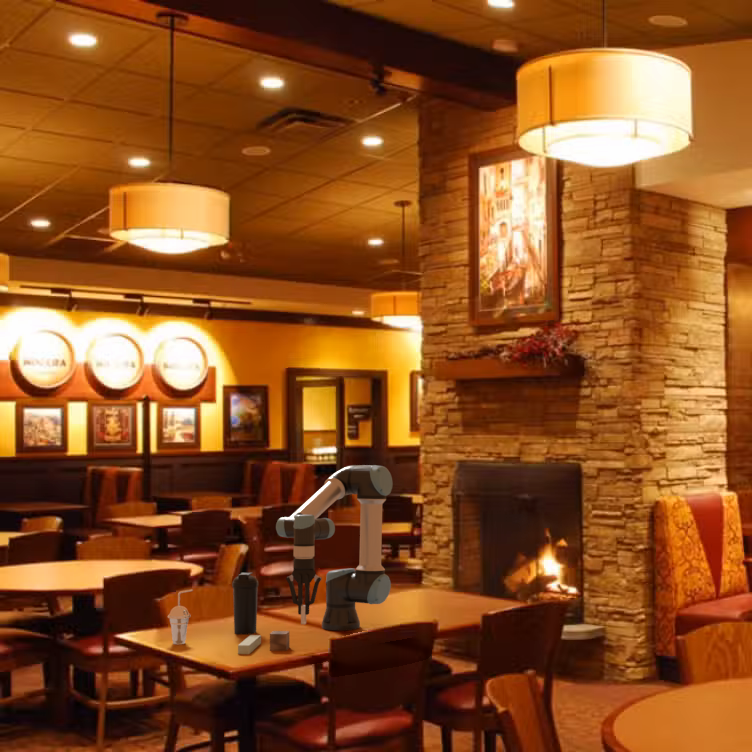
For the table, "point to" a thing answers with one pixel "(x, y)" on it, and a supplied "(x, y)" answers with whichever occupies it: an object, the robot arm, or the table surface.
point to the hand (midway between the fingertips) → (303, 623)
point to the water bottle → (245, 603)
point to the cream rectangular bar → (249, 644)
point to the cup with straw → (179, 621)
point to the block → (279, 641)
